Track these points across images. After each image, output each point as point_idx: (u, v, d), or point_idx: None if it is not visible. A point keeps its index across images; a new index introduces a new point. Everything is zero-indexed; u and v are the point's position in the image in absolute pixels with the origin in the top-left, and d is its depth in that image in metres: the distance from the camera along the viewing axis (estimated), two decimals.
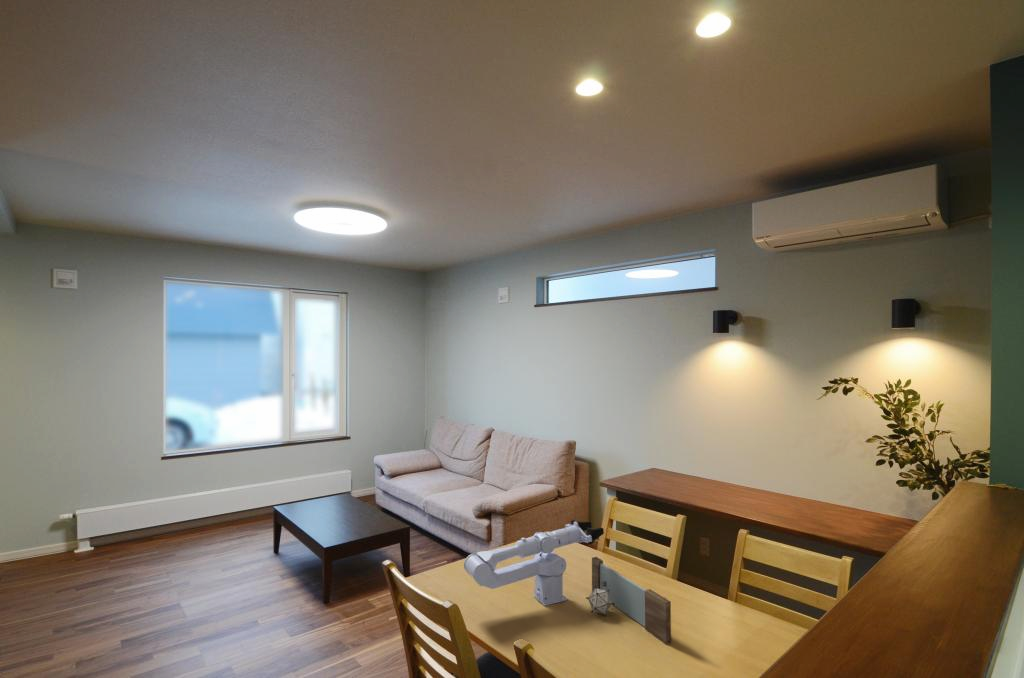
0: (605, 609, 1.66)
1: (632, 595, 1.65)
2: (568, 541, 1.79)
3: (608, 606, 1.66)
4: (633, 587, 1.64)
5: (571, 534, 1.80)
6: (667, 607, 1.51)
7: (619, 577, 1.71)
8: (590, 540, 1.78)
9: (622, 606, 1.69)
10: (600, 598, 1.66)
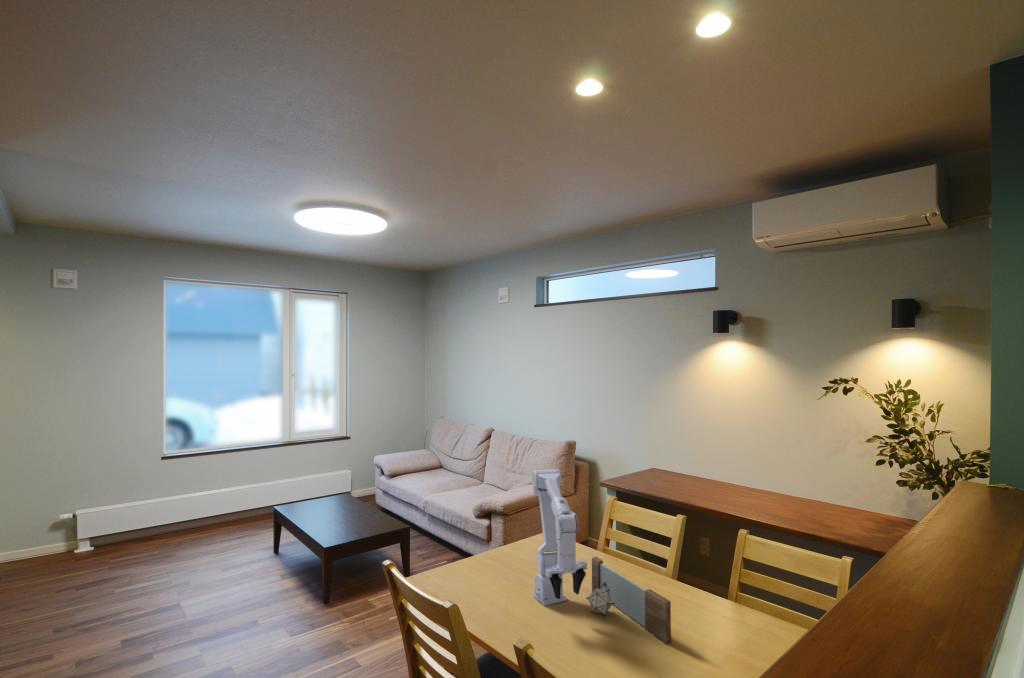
0: (605, 609, 1.66)
1: (632, 595, 1.65)
2: (557, 550, 1.64)
3: (608, 606, 1.66)
4: (633, 587, 1.64)
5: (562, 558, 1.61)
6: (667, 607, 1.51)
7: (619, 577, 1.71)
8: (546, 574, 1.60)
9: (622, 606, 1.69)
10: (600, 598, 1.66)
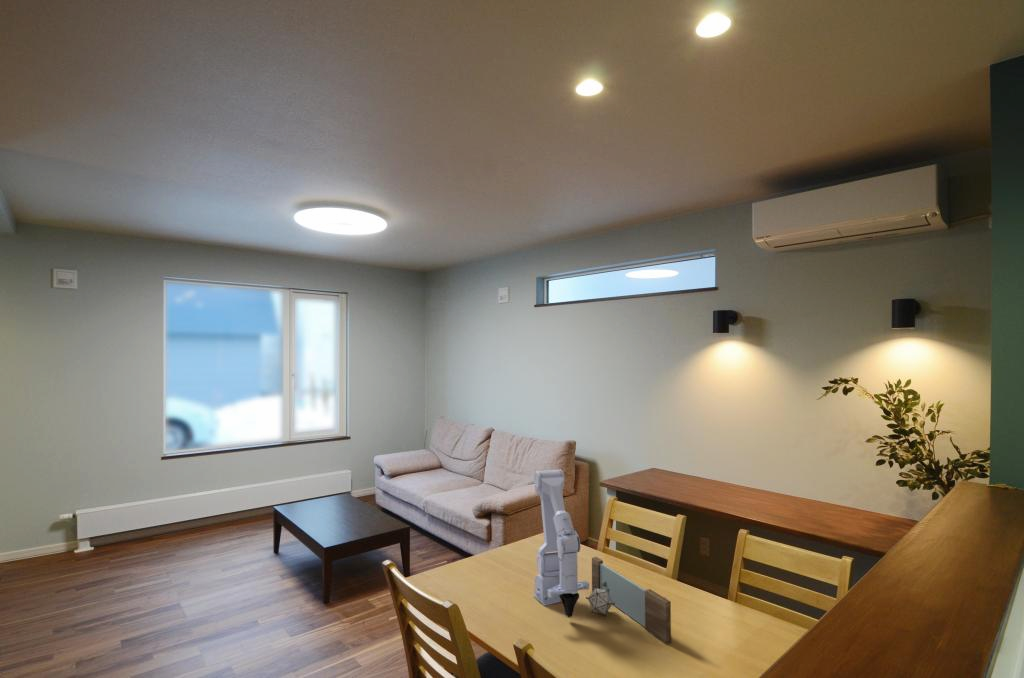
0: (605, 609, 1.66)
1: (632, 595, 1.65)
2: (559, 570, 1.64)
3: (608, 606, 1.66)
4: (633, 587, 1.64)
5: (563, 578, 1.61)
6: (667, 607, 1.51)
7: (619, 577, 1.71)
8: (548, 595, 1.61)
9: (622, 606, 1.69)
10: (600, 598, 1.66)
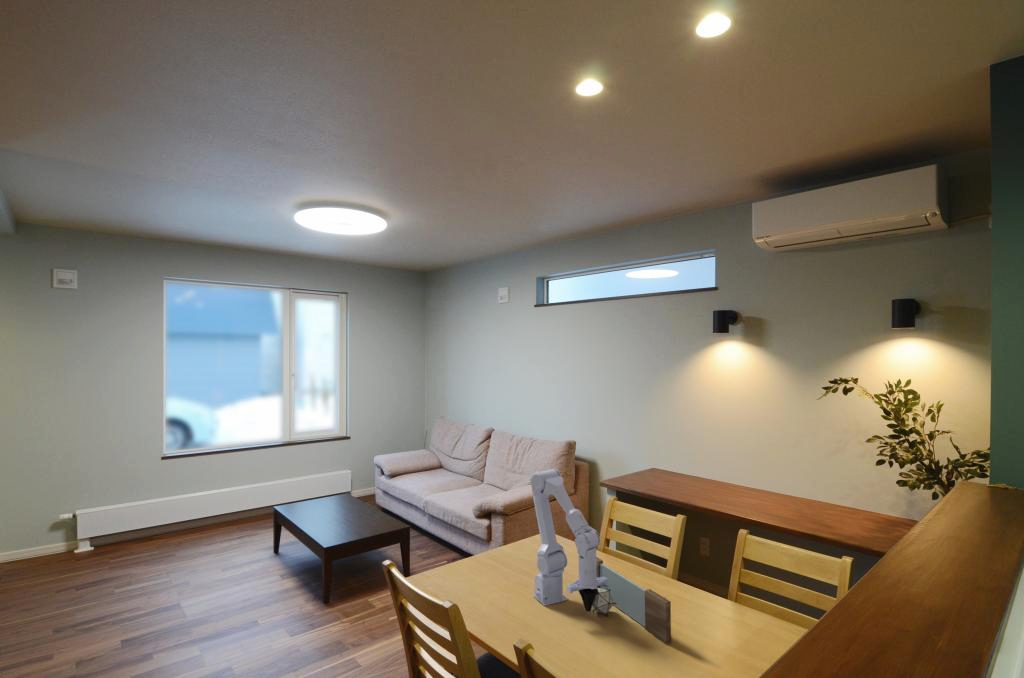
0: (606, 609, 1.66)
1: (632, 595, 1.65)
2: (580, 568, 1.66)
3: (609, 606, 1.66)
4: (633, 587, 1.64)
5: (583, 574, 1.64)
6: (667, 607, 1.51)
7: (619, 577, 1.71)
8: (568, 590, 1.64)
9: (622, 606, 1.69)
10: (601, 598, 1.66)
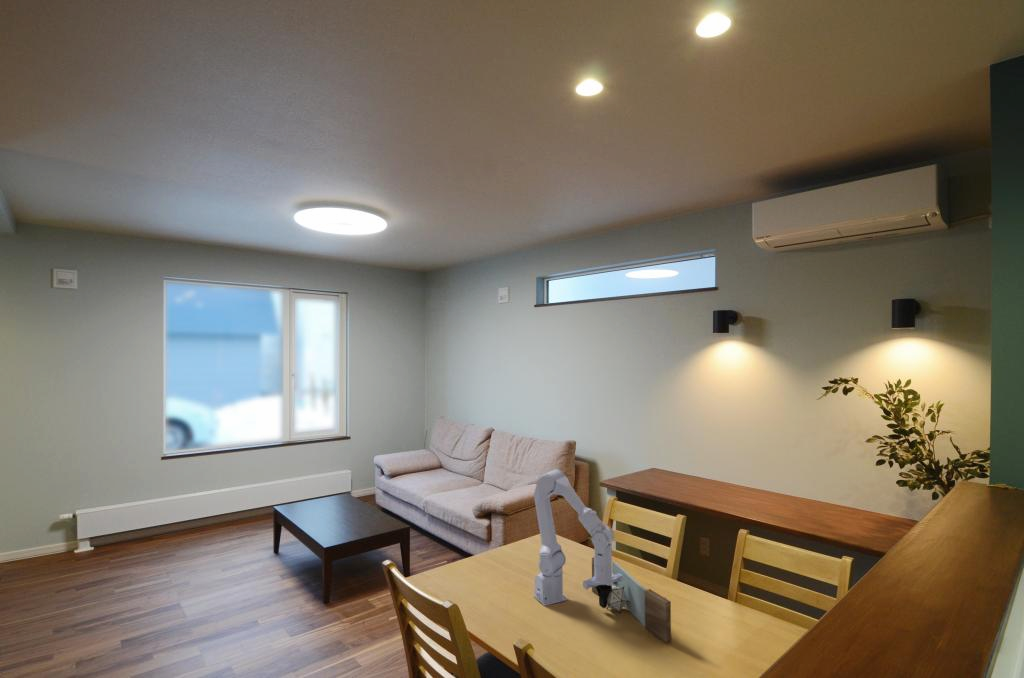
0: (619, 606, 1.67)
1: (635, 594, 1.65)
2: (597, 565, 1.68)
3: (622, 603, 1.68)
4: (636, 586, 1.65)
5: (598, 570, 1.67)
6: (667, 607, 1.51)
7: (626, 576, 1.72)
8: (584, 586, 1.67)
9: (628, 605, 1.70)
10: (613, 595, 1.68)
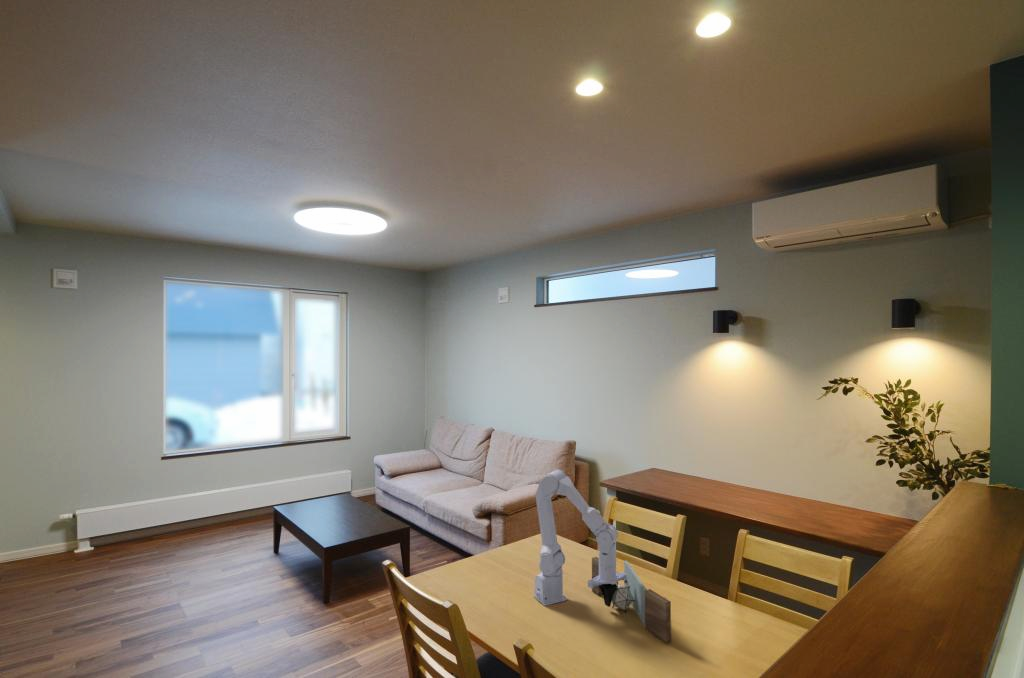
0: (624, 605, 1.68)
1: (639, 594, 1.66)
2: (602, 564, 1.68)
3: (627, 602, 1.68)
4: (639, 586, 1.65)
5: (603, 569, 1.68)
6: (667, 607, 1.51)
7: (633, 575, 1.72)
8: (588, 585, 1.67)
9: (634, 604, 1.71)
10: (619, 594, 1.69)
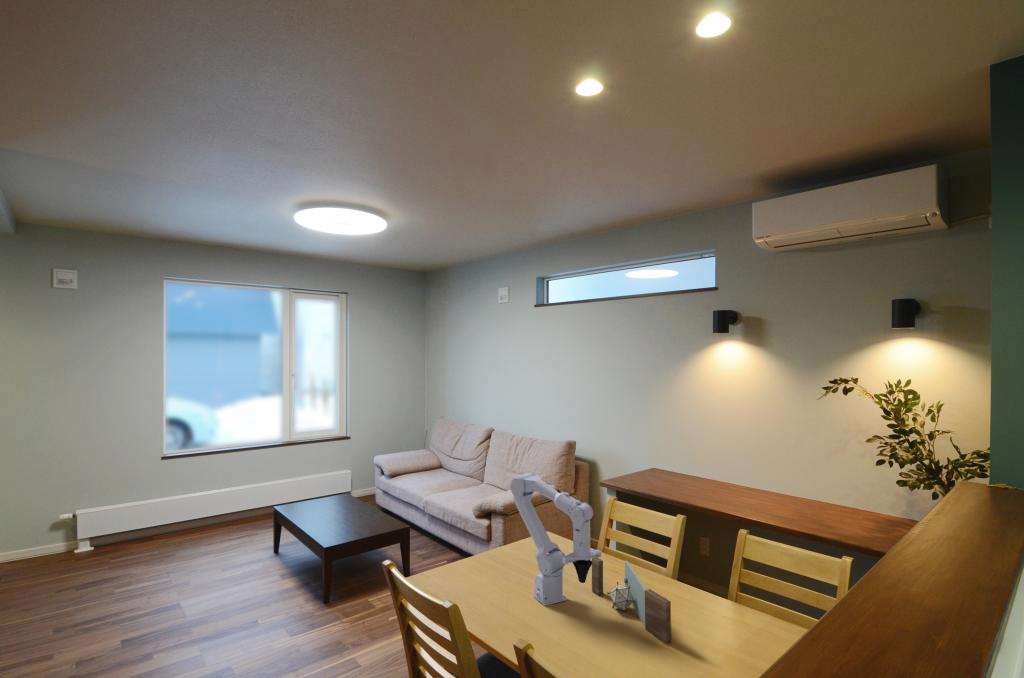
0: (624, 605, 1.68)
1: (639, 594, 1.66)
2: (575, 541, 1.70)
3: (628, 603, 1.68)
4: (639, 586, 1.65)
5: (577, 546, 1.70)
6: (667, 607, 1.51)
7: (633, 575, 1.72)
8: (562, 561, 1.69)
9: (634, 604, 1.71)
10: (619, 594, 1.69)
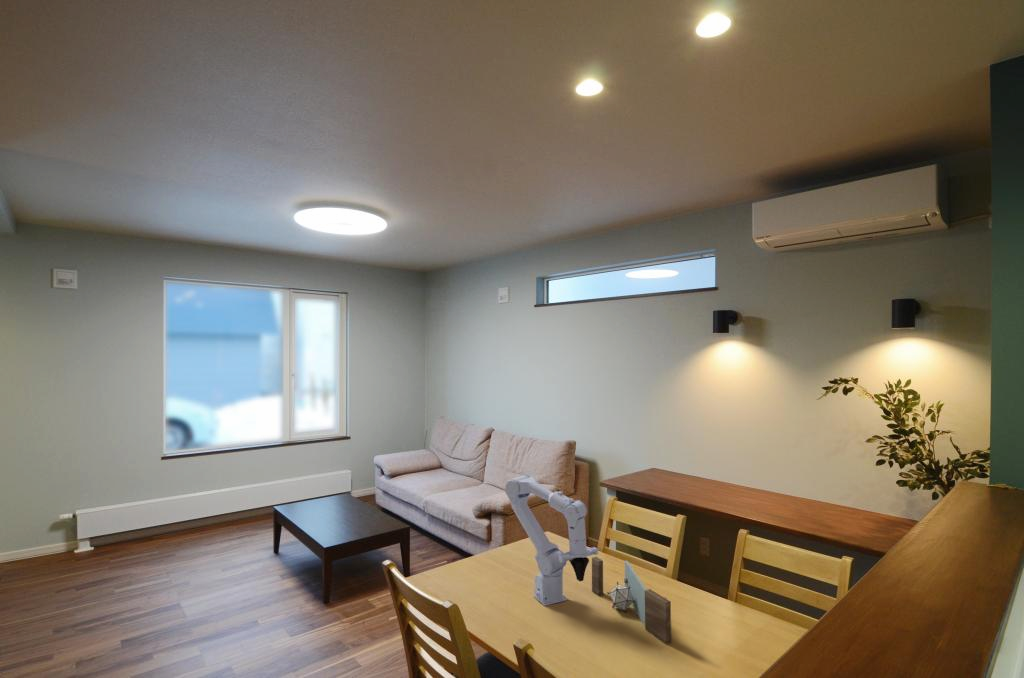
0: (624, 605, 1.68)
1: (639, 594, 1.66)
2: (571, 538, 1.71)
3: (628, 603, 1.68)
4: (639, 586, 1.65)
5: (573, 544, 1.71)
6: (667, 607, 1.51)
7: (633, 575, 1.72)
8: (559, 560, 1.70)
9: (634, 604, 1.71)
10: (619, 594, 1.69)
